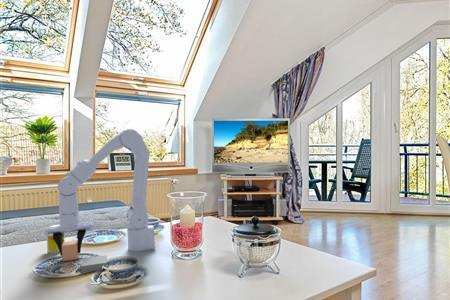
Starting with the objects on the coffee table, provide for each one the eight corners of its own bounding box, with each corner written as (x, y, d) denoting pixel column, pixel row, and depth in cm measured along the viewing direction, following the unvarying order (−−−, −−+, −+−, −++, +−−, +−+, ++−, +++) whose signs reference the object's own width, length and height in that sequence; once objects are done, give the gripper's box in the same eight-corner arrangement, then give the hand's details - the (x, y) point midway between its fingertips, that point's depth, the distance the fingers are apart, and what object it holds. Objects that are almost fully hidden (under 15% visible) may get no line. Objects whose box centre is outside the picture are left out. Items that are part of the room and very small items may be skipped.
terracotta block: (78, 254, 109) (78, 240, 109) (77, 259, 104) (76, 244, 104) (64, 256, 107) (63, 241, 107) (62, 261, 103) (61, 245, 103)
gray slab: (106, 261, 103) (106, 255, 103) (106, 269, 96) (106, 262, 96) (83, 264, 100) (83, 258, 100) (81, 272, 94) (80, 266, 94)
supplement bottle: (66, 254, 114) (65, 225, 114) (49, 258, 110) (48, 228, 110) (62, 250, 118) (61, 223, 118) (46, 253, 115) (45, 225, 114)
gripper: (41, 217, 99) (43, 260, 100) (91, 213, 104) (93, 254, 104) (46, 213, 106) (47, 253, 106) (93, 209, 111) (94, 247, 111)
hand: (70, 253), depth 106 cm, fingers closed on terracotta block, 4 cm apart
